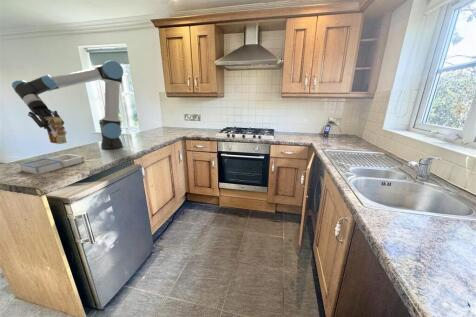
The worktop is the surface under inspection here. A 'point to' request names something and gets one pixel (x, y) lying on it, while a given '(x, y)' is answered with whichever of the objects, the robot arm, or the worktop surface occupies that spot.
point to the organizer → (50, 163)
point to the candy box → (56, 130)
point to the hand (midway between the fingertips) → (60, 134)
